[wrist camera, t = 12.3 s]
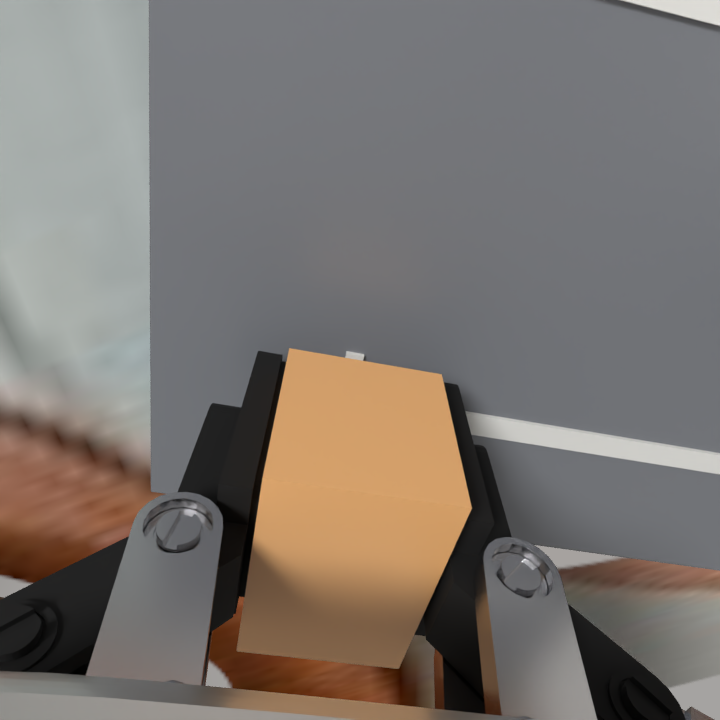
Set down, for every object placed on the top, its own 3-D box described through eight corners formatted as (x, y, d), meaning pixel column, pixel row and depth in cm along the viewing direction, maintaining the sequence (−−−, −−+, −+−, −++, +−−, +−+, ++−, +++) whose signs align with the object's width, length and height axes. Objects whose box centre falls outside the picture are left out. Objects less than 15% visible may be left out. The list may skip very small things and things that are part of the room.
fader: (434, 342, 12) (471, 508, 8) (387, 486, 14) (398, 668, 10) (295, 318, 11) (262, 478, 7) (271, 469, 14) (236, 651, 10)
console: (1274, -145, 9) (1490, -181, 7) (719, 523, 18) (758, 578, 16) (195, -510, 7) (142, -678, 5) (172, 441, 16) (150, 494, 14)
